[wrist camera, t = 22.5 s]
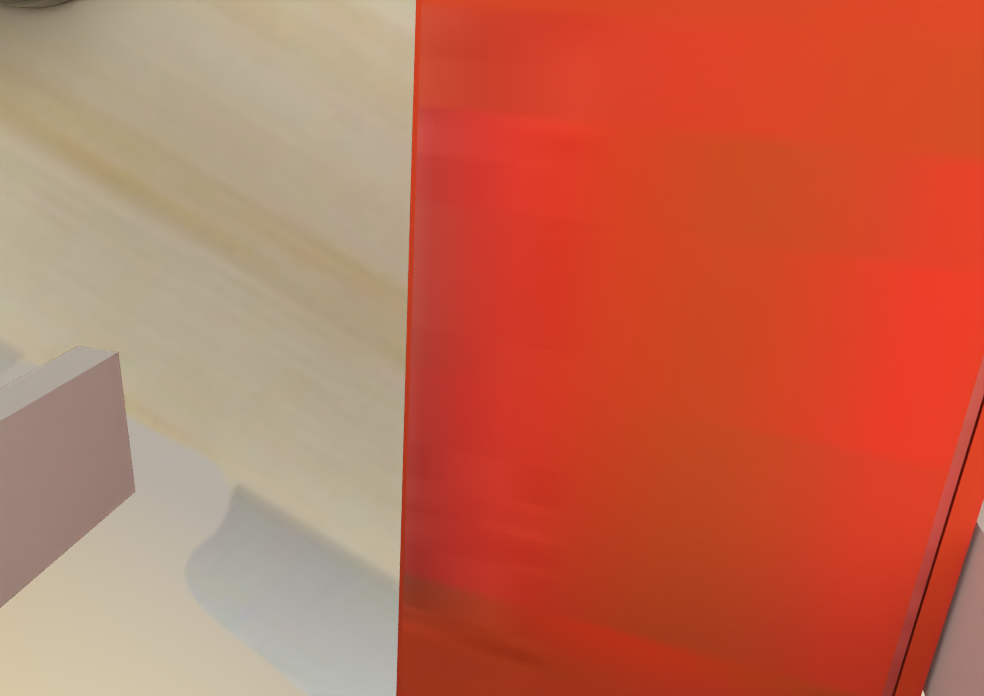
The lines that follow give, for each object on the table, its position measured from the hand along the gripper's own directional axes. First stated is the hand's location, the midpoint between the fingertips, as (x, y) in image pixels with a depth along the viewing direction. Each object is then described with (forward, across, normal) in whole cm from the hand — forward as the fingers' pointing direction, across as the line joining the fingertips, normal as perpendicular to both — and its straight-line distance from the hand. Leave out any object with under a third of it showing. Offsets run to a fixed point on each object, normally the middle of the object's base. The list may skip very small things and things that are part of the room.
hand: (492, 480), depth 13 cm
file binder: (+31, +6, -2) cm, 31 cm away
